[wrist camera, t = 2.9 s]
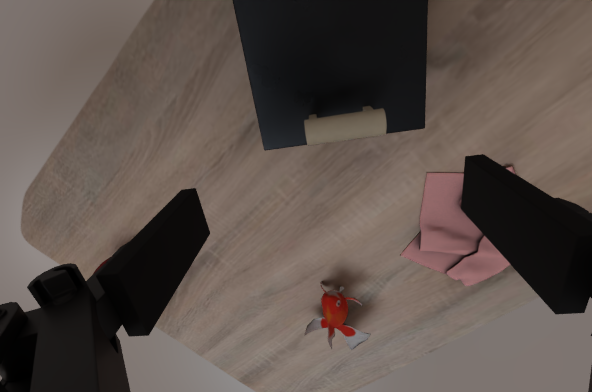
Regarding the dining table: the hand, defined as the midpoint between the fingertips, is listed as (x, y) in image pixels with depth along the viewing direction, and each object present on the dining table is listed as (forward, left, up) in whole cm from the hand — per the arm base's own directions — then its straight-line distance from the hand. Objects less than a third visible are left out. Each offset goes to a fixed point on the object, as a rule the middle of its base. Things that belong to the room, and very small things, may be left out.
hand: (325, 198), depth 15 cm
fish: (+16, -32, -28) cm, 46 cm away
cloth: (+28, -9, -28) cm, 41 cm away
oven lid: (-2, +8, -16) cm, 18 cm away
